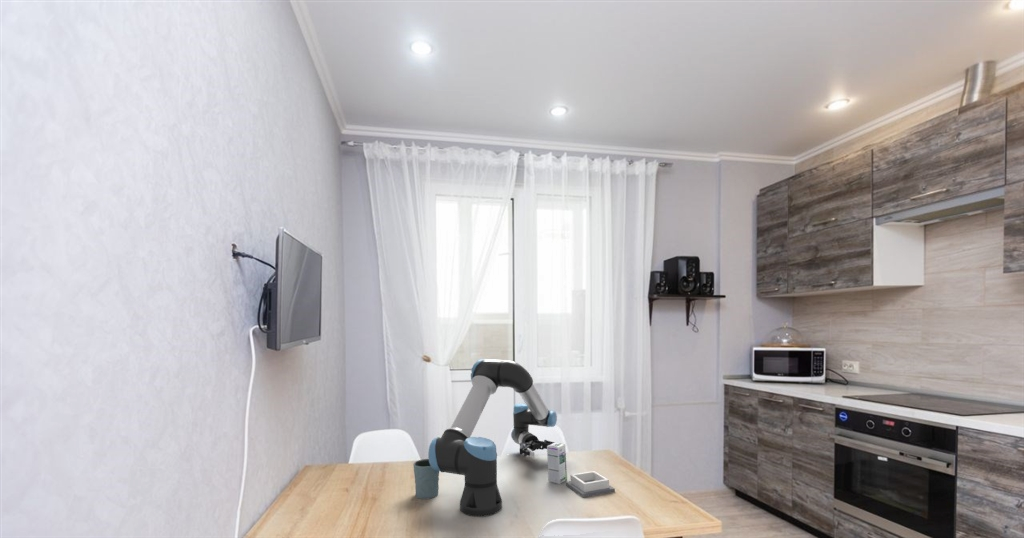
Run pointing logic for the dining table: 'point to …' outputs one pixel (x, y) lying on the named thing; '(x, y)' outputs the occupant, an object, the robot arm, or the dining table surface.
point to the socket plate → (589, 484)
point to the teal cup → (425, 479)
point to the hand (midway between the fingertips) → (547, 453)
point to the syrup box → (556, 463)
